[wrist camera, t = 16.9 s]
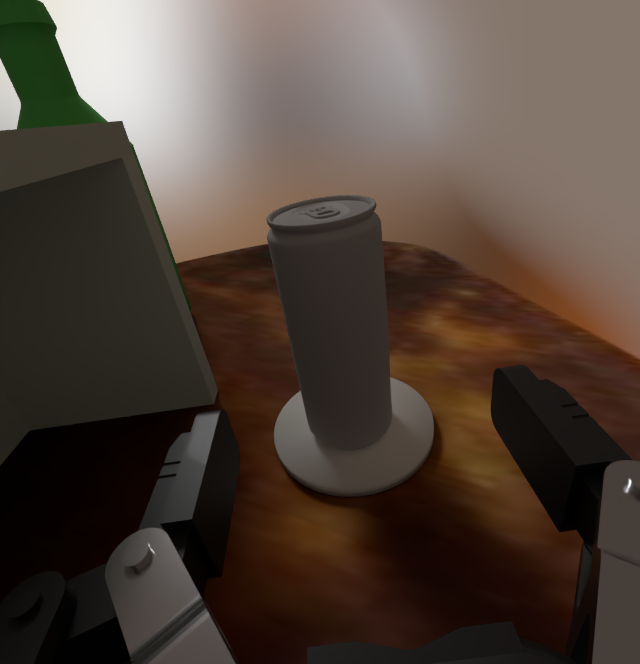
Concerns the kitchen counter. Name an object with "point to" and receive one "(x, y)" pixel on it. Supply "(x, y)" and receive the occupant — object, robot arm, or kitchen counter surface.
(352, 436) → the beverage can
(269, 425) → the kitchen counter surface
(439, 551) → the kitchen counter surface
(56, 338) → the shelf housing
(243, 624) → the kitchen counter surface
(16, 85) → the bottle
